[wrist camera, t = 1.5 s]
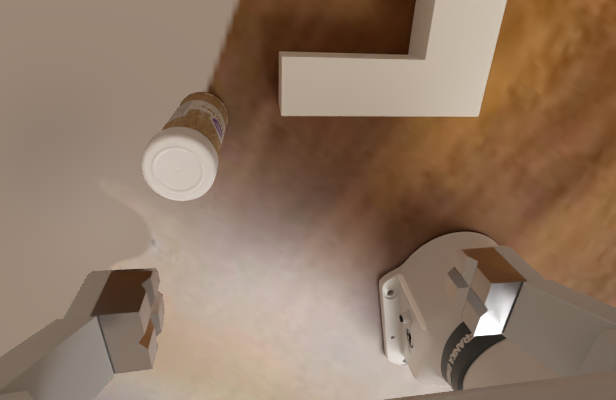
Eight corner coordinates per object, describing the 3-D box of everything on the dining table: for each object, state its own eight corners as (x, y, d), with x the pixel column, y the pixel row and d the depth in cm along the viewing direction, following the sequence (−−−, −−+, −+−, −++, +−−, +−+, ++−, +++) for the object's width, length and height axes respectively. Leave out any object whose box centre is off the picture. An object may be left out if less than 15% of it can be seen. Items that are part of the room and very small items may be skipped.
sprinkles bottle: (238, 120, 36) (231, 178, 24) (200, 147, 36) (175, 216, 25) (206, 79, 34) (180, 120, 22) (167, 109, 34) (122, 163, 22)
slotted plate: (457, 106, 38) (478, 116, 34) (278, 105, 35) (281, 115, 32) (500, -91, 31) (532, -104, 27) (279, -109, 28) (282, -126, 25)
